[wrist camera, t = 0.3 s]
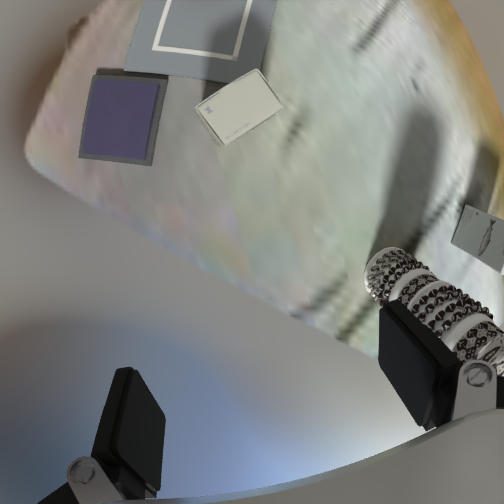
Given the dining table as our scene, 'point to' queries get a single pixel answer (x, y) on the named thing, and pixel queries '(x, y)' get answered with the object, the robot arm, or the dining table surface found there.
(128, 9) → the dining table surface
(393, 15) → the dining table surface
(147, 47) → the card
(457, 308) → the decorative candle
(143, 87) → the ink pad
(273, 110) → the skincare box
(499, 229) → the supplement box
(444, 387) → the robot arm
